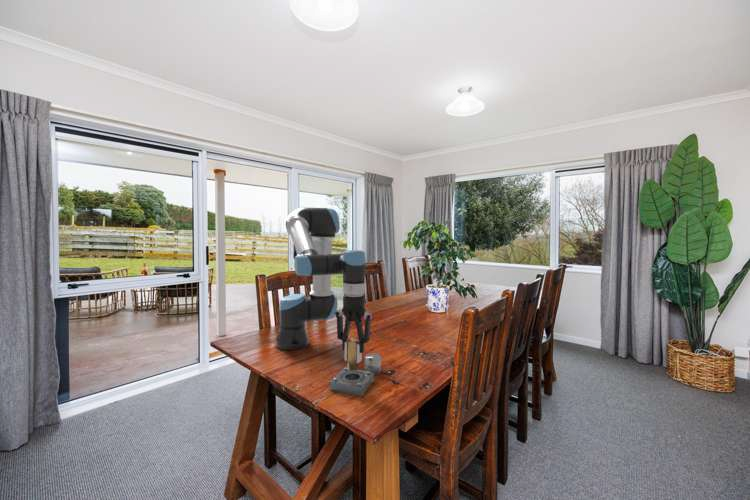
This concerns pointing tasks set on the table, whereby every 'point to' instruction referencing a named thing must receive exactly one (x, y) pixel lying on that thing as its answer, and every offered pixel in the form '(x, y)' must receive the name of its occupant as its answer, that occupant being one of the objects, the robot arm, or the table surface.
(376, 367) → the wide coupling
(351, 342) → the brass peg
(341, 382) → the flange socket
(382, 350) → the table surface
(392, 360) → the table surface
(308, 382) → the table surface
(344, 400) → the table surface
